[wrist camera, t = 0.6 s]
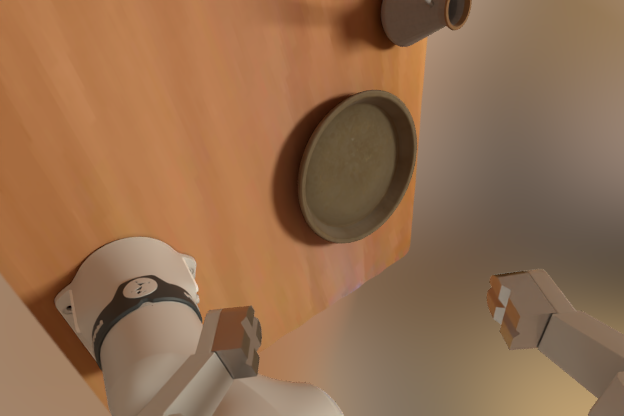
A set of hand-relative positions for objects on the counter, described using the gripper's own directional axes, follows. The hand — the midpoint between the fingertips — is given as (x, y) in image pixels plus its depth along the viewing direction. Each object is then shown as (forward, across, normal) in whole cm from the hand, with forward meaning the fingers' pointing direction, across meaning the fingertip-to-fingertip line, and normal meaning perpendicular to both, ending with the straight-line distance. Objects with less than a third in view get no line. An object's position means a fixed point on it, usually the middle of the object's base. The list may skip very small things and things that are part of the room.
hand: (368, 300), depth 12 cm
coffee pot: (+60, +10, 0) cm, 61 cm away
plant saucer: (+53, +2, -27) cm, 59 cm away
